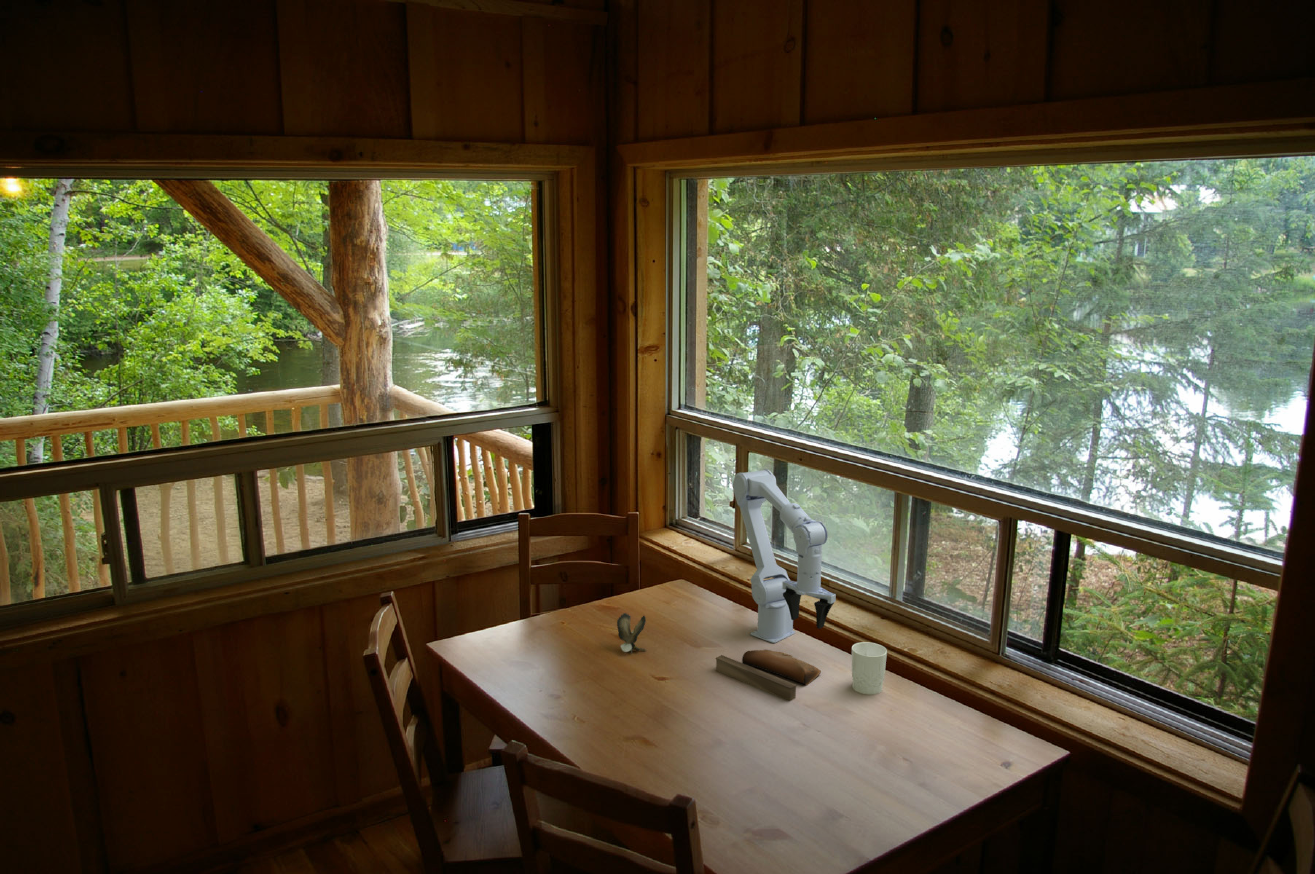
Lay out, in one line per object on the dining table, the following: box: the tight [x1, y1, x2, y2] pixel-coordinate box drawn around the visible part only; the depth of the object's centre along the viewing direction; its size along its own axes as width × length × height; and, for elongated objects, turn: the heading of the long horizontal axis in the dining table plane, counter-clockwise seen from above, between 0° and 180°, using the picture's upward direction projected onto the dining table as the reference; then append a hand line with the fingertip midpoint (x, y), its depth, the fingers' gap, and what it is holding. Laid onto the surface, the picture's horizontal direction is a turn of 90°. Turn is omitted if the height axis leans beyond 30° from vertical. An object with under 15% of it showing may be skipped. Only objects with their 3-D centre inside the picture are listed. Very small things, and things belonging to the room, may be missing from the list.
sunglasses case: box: [741, 649, 822, 686], centre depth 214 cm, size 18×7×7 cm
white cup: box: [851, 641, 888, 695], centre depth 204 cm, size 8×8×10 cm
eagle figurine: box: [616, 612, 648, 655], centre depth 225 cm, size 8×7×9 cm
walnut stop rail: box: [715, 654, 797, 702], centre depth 207 cm, size 2×22×3 cm, turn 45°
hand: (807, 623), depth 220 cm, fingers open, 7 cm apart
